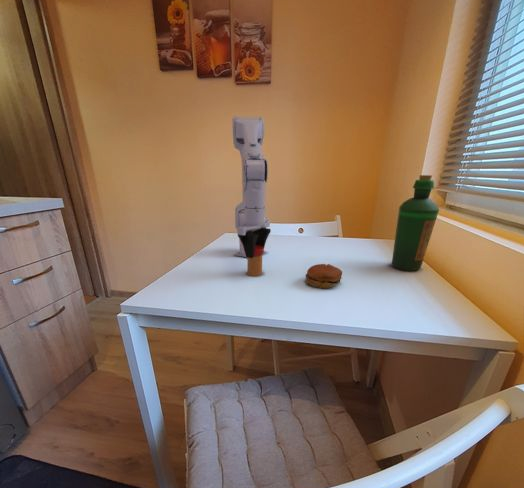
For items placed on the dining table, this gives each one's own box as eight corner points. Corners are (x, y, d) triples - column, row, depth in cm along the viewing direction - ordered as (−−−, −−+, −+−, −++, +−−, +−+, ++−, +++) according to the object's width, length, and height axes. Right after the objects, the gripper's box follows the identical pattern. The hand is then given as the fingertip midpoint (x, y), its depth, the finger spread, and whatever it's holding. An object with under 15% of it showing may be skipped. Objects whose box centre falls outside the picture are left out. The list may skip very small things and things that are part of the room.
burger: (309, 289, 73) (310, 272, 72) (302, 276, 82) (304, 261, 80) (346, 289, 74) (348, 272, 72) (335, 276, 82) (337, 261, 81)
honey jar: (251, 270, 87) (251, 246, 84) (264, 272, 85) (264, 248, 82) (244, 274, 83) (244, 250, 80) (258, 277, 81) (258, 251, 78)
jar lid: (242, 252, 82) (242, 246, 81) (256, 250, 85) (256, 244, 84) (252, 257, 78) (252, 250, 77) (266, 254, 81) (267, 247, 80)
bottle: (430, 273, 86) (456, 176, 75) (395, 272, 86) (416, 175, 75) (414, 262, 96) (434, 175, 85) (382, 261, 96) (399, 174, 85)
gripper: (253, 211, 69) (253, 263, 74) (279, 205, 80) (277, 251, 86) (230, 209, 72) (231, 259, 77) (258, 204, 83) (258, 248, 89)
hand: (254, 255), depth 82 cm, fingers closed on jar lid, 5 cm apart
